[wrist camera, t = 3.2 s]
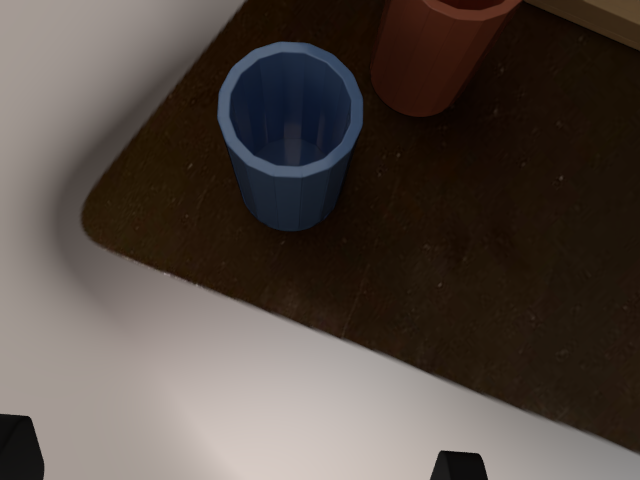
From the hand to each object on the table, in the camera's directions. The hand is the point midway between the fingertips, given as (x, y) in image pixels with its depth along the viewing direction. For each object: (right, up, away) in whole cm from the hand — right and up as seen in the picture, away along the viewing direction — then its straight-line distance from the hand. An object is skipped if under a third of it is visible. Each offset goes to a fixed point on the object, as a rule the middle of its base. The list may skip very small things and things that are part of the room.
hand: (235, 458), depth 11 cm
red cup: (+8, +14, +23) cm, 28 cm away
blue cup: (0, +8, +21) cm, 22 cm away
